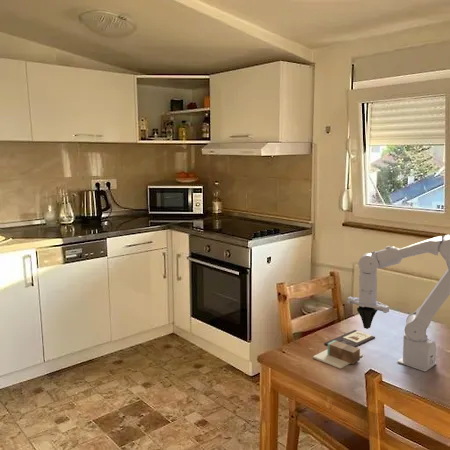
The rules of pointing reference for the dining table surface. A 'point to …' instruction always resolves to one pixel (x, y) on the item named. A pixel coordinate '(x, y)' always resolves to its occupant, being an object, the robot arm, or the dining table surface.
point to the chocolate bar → (353, 338)
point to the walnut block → (343, 352)
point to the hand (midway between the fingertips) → (367, 327)
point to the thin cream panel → (331, 359)
